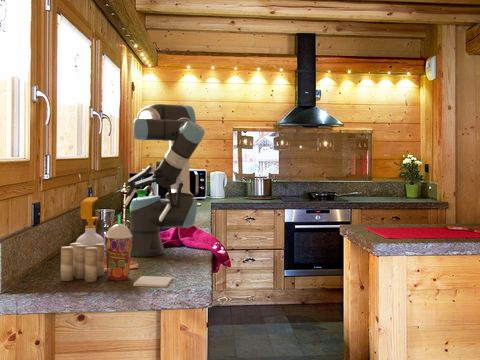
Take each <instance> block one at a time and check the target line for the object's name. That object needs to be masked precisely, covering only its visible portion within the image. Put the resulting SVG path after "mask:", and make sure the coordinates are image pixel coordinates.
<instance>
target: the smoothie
mask: <svg viewBox="0 0 480 360" xmlns="http://www.w3.org/2000/svg"><path fill="white" fill-rule="evenodd" d="M104 237H105V240H104V241H105V258H106V275H107V276H108V280H110V281H115V282H116V281H117V282H119V281H125V280H127V279H128V277H129V275H130V268H131V246H132V235H131V232H130V227H128V226H127V225H125V224H122V223H121V215H119V214H118V216H117V223H116V224H114V225H112V226H111V227H109V229H108V230H107V232H106V234H105V235H104Z"/></svg>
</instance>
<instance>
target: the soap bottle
mask: <svg viewBox="0 0 480 360" xmlns="http://www.w3.org/2000/svg"><path fill="white" fill-rule="evenodd" d="M97 200H99V197H96V196H95V197H94V196H91V197H90V196H88V197H86V198H84V199H83V200H82V201H81V202H80V218H81V219H82V220H86V222H87V225H85V229H84V230H85V232H84V233H83V234H81V235H80V236H79V237H78V238H77V239H76V241H75V243H82V245H87V248H88V247H93V244H105V240H104V237H102V236H101V235H100V234H99V233H97V232H96V230H97V229H96V225H94V223H95V221H96V220H97V219H100V217H99V216H93V205H94V203H95V202H97Z"/></svg>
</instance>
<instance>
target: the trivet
mask: <svg viewBox="0 0 480 360" xmlns="http://www.w3.org/2000/svg"><path fill="white" fill-rule="evenodd" d="M173 279H174V278H173V276H153V275H152V276H151V275H140V277H139V278H138V279H136V280H135V282H133V287H155V288H156V287H160V288H167V287H168V286H169V284H171V282H172V281H173Z"/></svg>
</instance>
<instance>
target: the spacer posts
mask: <svg viewBox="0 0 480 360" xmlns="http://www.w3.org/2000/svg"><path fill="white" fill-rule="evenodd" d="M105 254H106V243H104V244H93V247H88V248H87V245H82V243H76V242H72V243H69V246H61V247H60V281H61V282H62V281H63V282H70V281H73V280H74V279H84V282H88V283H92V282H97V281H98V280H97V278H98V277H103V276H105Z"/></svg>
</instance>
